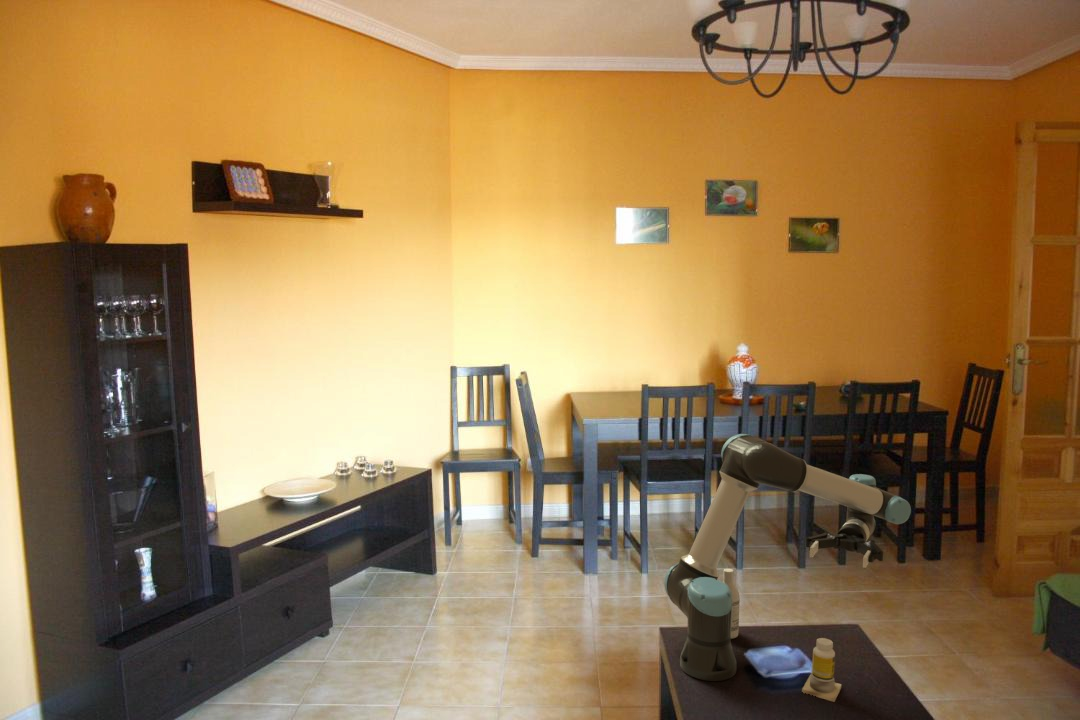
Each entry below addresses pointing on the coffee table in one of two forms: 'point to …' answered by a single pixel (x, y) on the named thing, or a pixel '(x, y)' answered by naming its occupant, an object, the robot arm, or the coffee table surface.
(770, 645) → the coffee table surface
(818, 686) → the boss
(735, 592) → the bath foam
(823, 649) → the supplement bottle
